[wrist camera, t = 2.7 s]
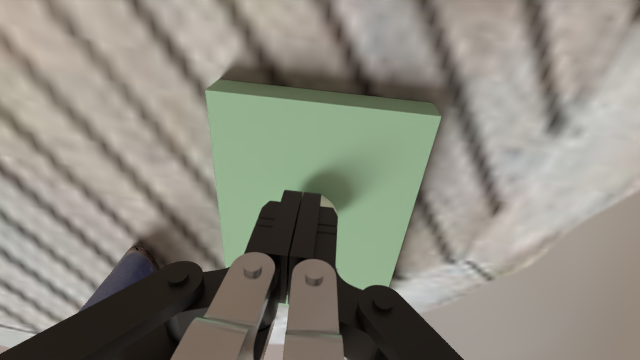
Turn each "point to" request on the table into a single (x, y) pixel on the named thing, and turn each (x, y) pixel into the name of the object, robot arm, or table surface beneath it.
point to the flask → (125, 274)
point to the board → (321, 165)
